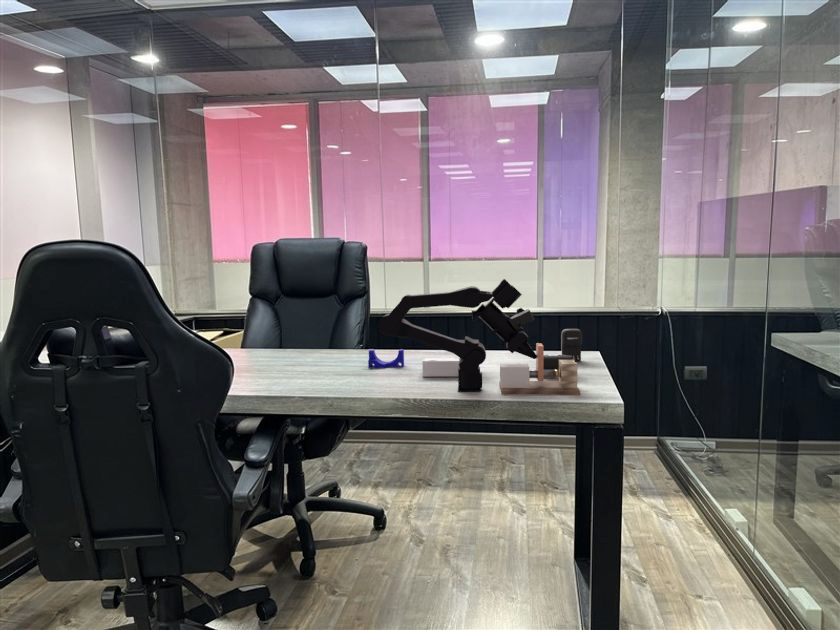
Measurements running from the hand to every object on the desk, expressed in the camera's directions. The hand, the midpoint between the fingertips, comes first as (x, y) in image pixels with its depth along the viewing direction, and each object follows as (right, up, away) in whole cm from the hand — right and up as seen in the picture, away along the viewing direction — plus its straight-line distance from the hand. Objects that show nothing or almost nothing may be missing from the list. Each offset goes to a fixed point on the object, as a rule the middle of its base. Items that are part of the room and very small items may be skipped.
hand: (536, 357), depth 162 cm
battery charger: (+21, -4, +39) cm, 44 cm away
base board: (+1, -9, +1) cm, 9 cm away
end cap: (+10, -7, +17) cm, 21 cm away
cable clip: (-45, -6, +37) cm, 59 cm away
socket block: (+9, -9, 0) cm, 13 cm away
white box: (-23, -7, +23) cm, 34 cm away
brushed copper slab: (0, -6, +1) cm, 6 cm away
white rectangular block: (-6, -9, +2) cm, 11 cm away
